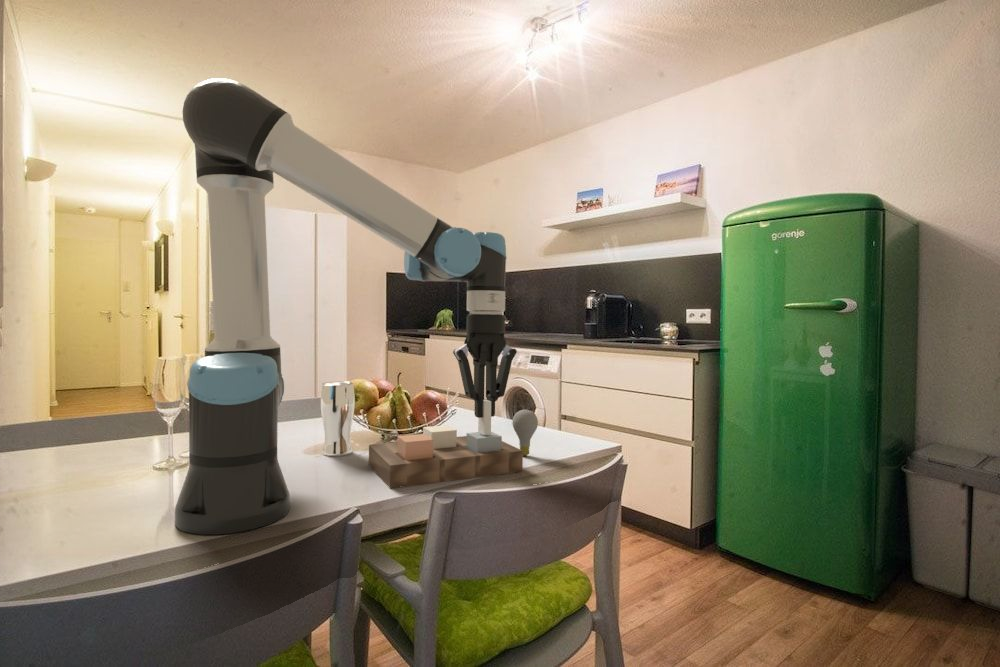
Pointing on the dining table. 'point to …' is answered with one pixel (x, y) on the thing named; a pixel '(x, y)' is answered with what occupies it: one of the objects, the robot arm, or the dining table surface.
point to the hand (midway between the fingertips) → (484, 433)
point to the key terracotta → (414, 447)
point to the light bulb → (525, 428)
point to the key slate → (483, 442)
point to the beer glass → (337, 417)
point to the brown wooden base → (442, 464)
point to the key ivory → (441, 436)
